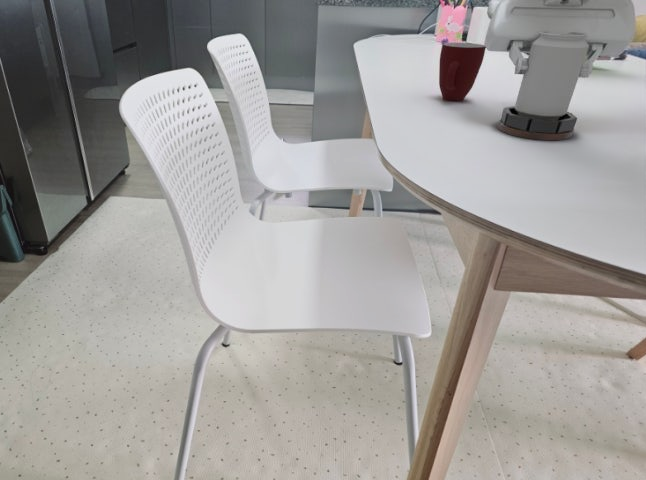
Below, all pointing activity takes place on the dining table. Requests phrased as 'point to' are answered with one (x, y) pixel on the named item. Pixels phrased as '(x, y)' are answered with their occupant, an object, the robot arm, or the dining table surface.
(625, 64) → the dining table surface
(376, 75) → the dining table surface
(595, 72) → the dining table surface
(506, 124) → the base pad
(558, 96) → the can
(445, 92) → the mug
